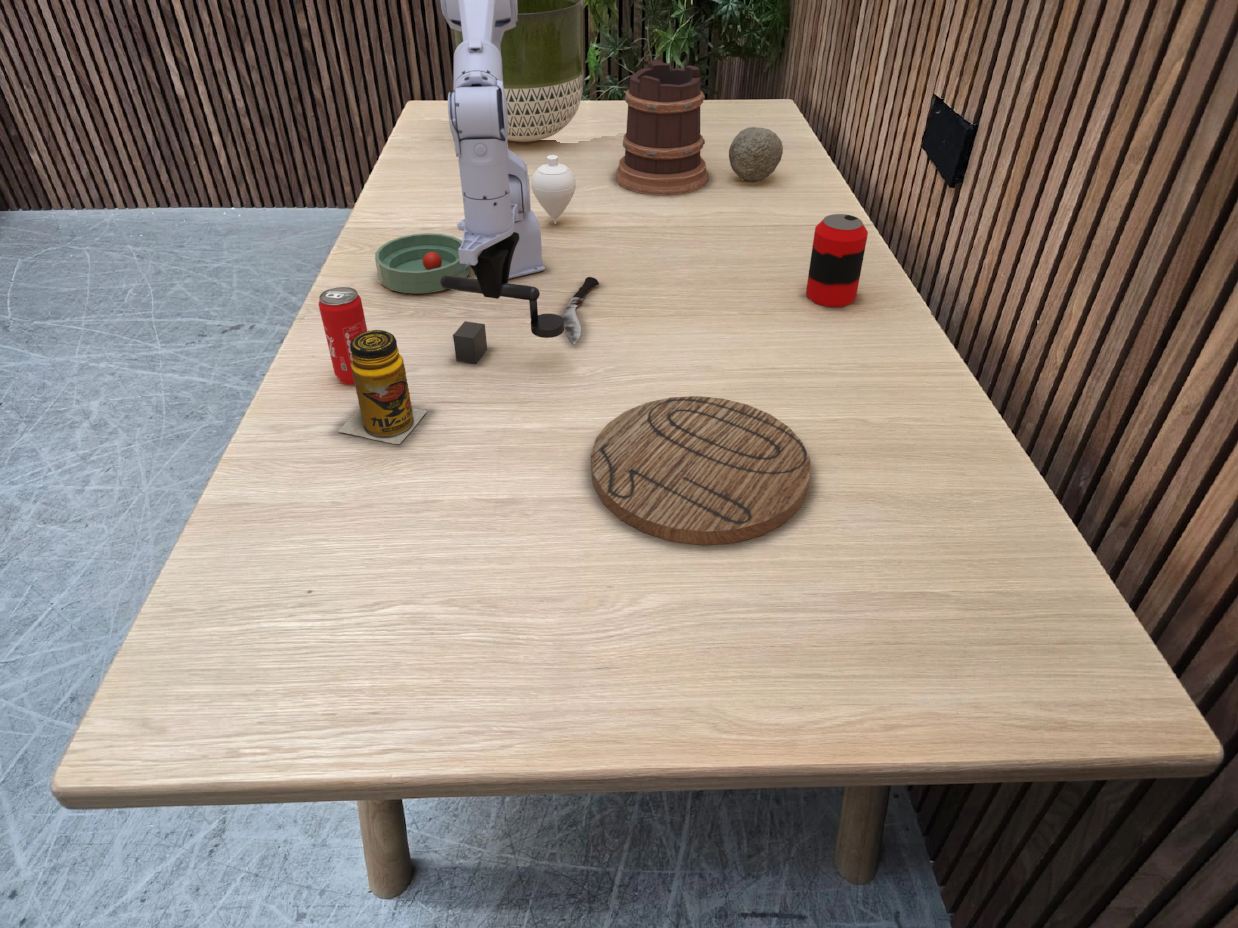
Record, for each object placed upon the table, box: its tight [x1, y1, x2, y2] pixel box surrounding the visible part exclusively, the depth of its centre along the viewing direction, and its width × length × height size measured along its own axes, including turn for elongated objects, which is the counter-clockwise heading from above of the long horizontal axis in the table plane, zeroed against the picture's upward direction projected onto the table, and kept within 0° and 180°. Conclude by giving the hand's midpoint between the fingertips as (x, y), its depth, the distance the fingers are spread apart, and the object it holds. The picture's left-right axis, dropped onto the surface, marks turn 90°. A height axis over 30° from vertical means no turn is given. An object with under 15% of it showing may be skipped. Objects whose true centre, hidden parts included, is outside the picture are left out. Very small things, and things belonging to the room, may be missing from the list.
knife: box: [561, 276, 600, 346], centre depth 132 cm, size 18×1×5 cm
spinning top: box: [530, 154, 577, 225], centre depth 154 cm, size 8×8×12 cm
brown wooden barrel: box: [615, 59, 710, 196], centre depth 170 cm, size 18×23×20 cm
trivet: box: [590, 395, 811, 546], centre depth 102 cm, size 25×25×2 cm
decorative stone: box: [728, 126, 784, 183], centre depth 171 cm, size 10×8×10 cm
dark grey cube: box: [452, 320, 488, 365], centre depth 121 cm, size 3×4×4 cm
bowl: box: [374, 232, 471, 294], centre depth 140 cm, size 14×14×4 cm
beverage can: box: [318, 286, 368, 386], centre depth 115 cm, size 5×5×12 cm
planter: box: [452, 0, 585, 143], centre depth 186 cm, size 27×27×27 cm
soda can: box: [805, 213, 869, 308], centre depth 132 cm, size 8×8×12 cm
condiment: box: [337, 329, 428, 445], centre depth 106 cm, size 7×8×12 cm
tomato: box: [423, 252, 442, 270], centre depth 141 cm, size 3×3×3 cm
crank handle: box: [440, 275, 565, 339], centre depth 117 cm, size 17×4×6 cm, turn 74°
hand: (495, 292), depth 116 cm, fingers closed on crank handle, 2 cm apart
